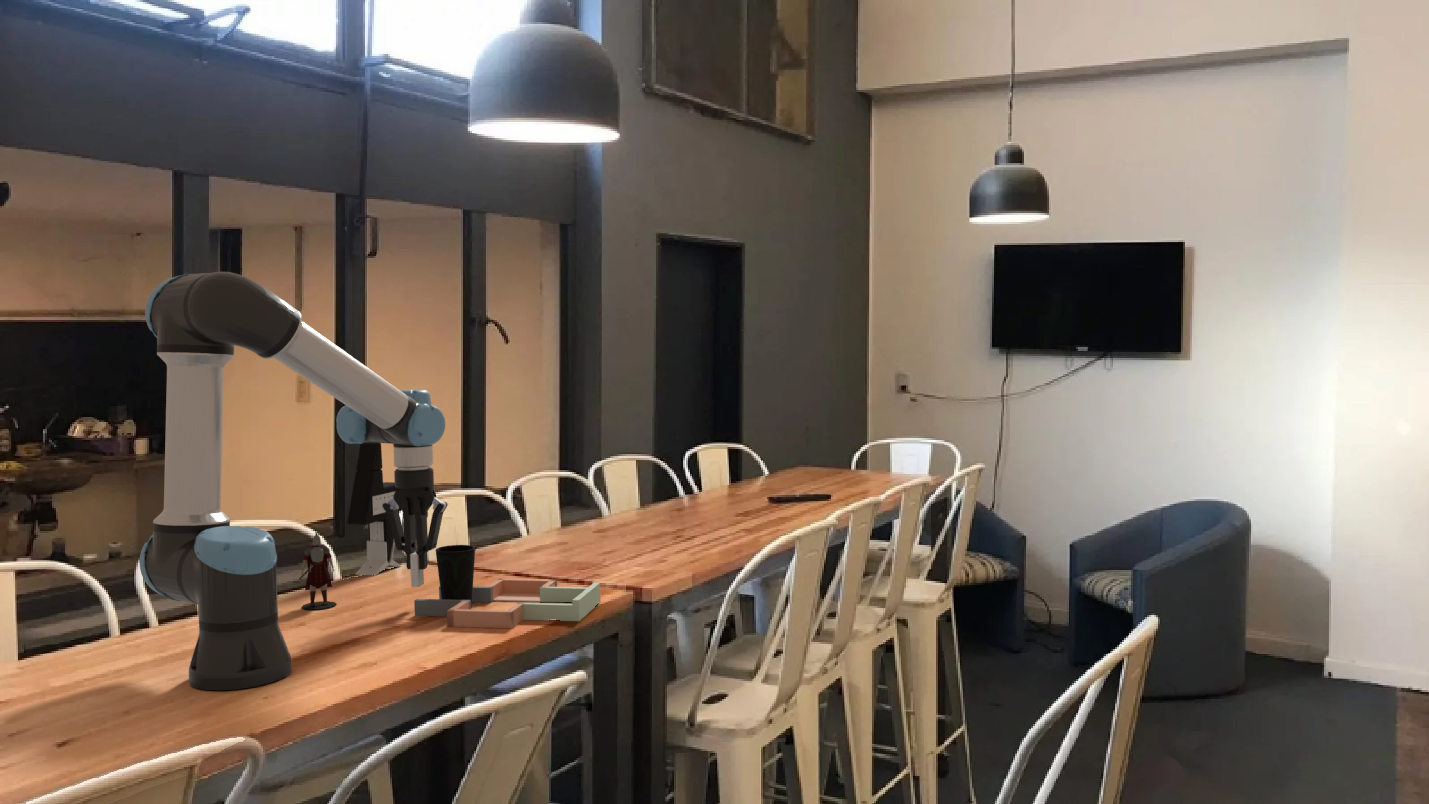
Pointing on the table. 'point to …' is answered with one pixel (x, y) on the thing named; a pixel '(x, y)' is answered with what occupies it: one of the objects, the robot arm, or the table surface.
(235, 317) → the robot arm
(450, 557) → the cup
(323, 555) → the figurine
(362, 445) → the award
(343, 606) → the table surface
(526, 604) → the track
